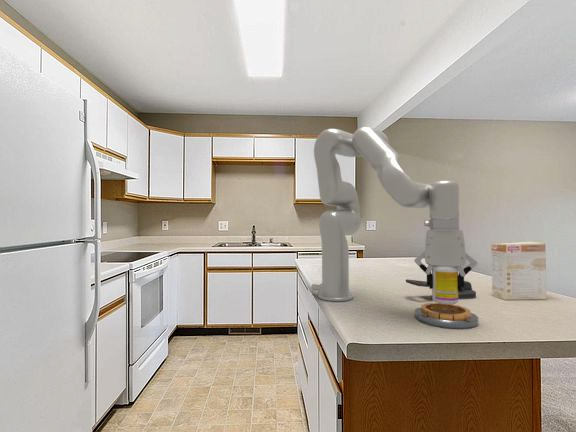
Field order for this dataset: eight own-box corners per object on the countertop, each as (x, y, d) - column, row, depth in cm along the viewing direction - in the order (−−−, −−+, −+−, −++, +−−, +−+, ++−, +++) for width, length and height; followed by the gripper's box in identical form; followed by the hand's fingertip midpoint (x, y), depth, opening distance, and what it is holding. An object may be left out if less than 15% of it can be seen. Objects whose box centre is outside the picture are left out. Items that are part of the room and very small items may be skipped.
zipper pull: (402, 278, 117) (460, 275, 123) (403, 297, 117) (461, 292, 123) (418, 283, 109) (480, 279, 115) (418, 303, 108) (480, 298, 115)
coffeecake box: (531, 295, 119) (530, 241, 119) (547, 299, 112) (546, 243, 112) (491, 295, 118) (490, 242, 119) (504, 300, 111) (503, 243, 111)
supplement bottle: (463, 304, 88) (462, 257, 88) (438, 305, 88) (438, 257, 88) (451, 298, 94) (450, 254, 94) (428, 298, 94) (427, 254, 94)
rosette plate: (413, 324, 87) (413, 313, 87) (415, 308, 101) (415, 299, 101) (482, 332, 80) (482, 320, 80) (474, 314, 95) (474, 304, 95)
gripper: (410, 225, 91) (411, 289, 91) (481, 225, 84) (482, 294, 84) (411, 225, 98) (412, 284, 98) (477, 225, 91) (478, 288, 91)
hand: (445, 288), depth 91 cm, fingers closed on supplement bottle, 6 cm apart
